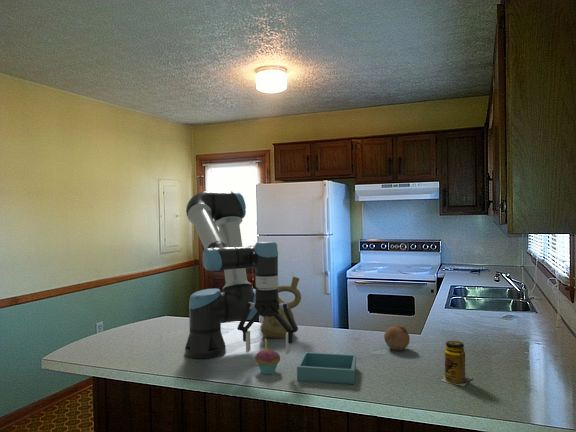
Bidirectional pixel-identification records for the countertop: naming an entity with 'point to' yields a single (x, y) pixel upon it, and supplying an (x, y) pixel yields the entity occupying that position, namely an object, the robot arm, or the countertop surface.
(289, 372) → the countertop surface
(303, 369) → the tub
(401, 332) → the onion
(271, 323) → the ceramic vessel
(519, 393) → the countertop surface
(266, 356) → the cupcake
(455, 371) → the condiment
